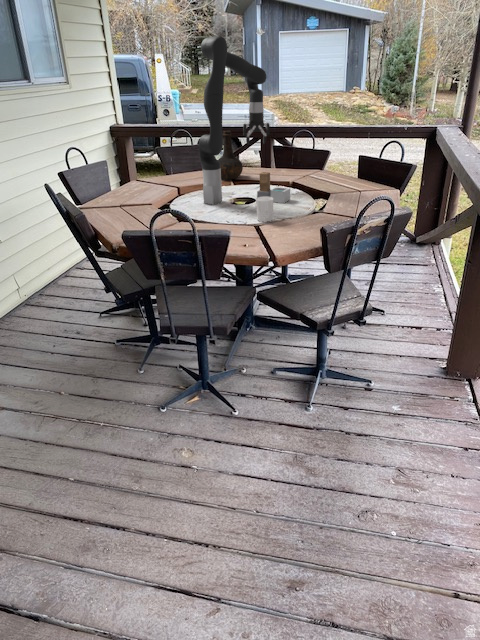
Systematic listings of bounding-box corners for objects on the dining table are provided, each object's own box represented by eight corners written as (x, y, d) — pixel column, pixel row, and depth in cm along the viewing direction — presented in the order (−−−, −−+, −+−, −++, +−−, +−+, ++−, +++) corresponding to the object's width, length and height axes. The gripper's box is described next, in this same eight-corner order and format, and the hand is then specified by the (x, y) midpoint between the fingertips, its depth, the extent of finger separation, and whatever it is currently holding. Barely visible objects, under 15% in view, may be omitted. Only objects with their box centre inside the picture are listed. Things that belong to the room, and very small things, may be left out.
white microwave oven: (283, 203, 248) (284, 191, 245) (270, 202, 252) (270, 189, 249) (290, 199, 254) (290, 187, 251) (277, 198, 258) (277, 186, 255)
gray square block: (267, 201, 253) (267, 192, 251) (257, 200, 256) (257, 191, 254) (272, 198, 258) (272, 189, 256) (262, 197, 261) (262, 188, 259)
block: (266, 191, 252) (266, 174, 248) (259, 191, 254) (259, 173, 250) (270, 190, 255) (270, 172, 251) (263, 189, 257) (263, 171, 253)
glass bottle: (232, 174, 315) (230, 127, 302) (248, 178, 302) (247, 130, 289) (209, 178, 306) (206, 130, 293) (225, 183, 293) (223, 133, 280)
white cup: (252, 220, 225) (252, 199, 220) (264, 216, 229) (264, 195, 225) (265, 223, 220) (265, 201, 215) (276, 219, 224) (277, 198, 220)
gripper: (244, 112, 252) (244, 145, 260) (271, 111, 254) (270, 144, 262) (241, 111, 259) (242, 143, 266) (268, 110, 261) (267, 142, 268)
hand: (256, 143), depth 264 cm, fingers open, 8 cm apart
